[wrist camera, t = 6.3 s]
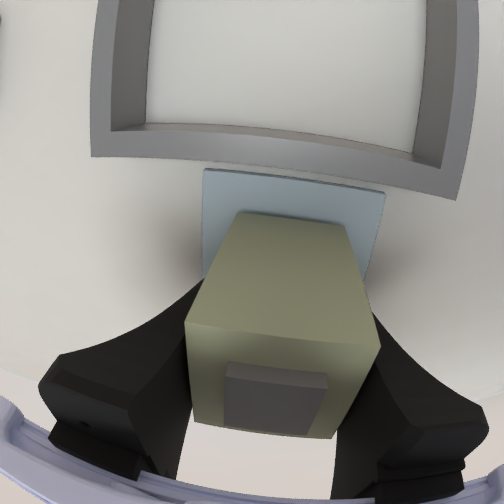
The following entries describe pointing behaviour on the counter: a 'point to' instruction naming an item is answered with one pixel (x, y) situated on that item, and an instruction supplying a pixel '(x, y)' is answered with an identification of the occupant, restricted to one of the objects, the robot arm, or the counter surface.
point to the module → (280, 330)
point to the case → (288, 142)
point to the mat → (287, 208)
